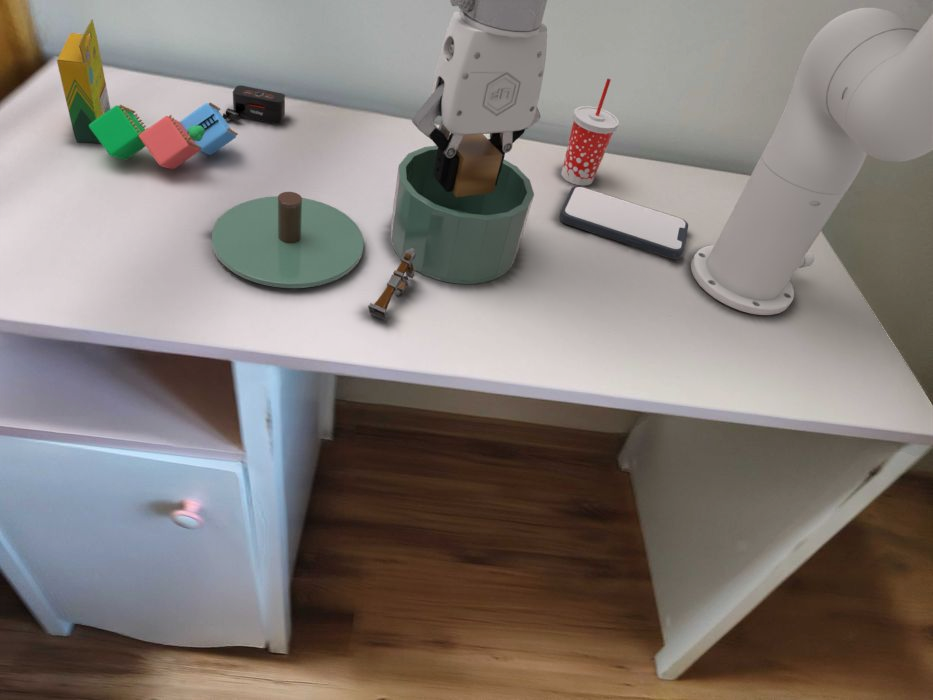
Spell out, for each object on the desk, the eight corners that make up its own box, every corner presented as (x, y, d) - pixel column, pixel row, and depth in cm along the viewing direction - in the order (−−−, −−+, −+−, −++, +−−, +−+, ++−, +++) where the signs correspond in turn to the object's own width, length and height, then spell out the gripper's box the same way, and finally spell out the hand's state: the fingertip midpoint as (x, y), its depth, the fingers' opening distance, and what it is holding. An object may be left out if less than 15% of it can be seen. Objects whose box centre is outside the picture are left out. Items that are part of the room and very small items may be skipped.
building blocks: (159, 192, 85) (239, 136, 84) (130, 186, 77) (218, 124, 76) (119, 136, 83) (200, 79, 83) (85, 124, 75) (174, 61, 75)
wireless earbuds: (232, 106, 93) (231, 83, 91) (285, 117, 94) (285, 94, 92) (222, 122, 90) (220, 98, 88) (277, 132, 91) (277, 109, 88)
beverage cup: (590, 193, 94) (625, 95, 85) (549, 177, 96) (579, 78, 86) (603, 176, 99) (637, 80, 89) (564, 160, 100) (593, 64, 90)
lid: (333, 198, 82) (335, 152, 78) (385, 278, 73) (391, 231, 69) (196, 214, 75) (191, 165, 71) (235, 305, 66) (232, 255, 62)
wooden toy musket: (423, 270, 74) (421, 247, 70) (388, 331, 71) (384, 311, 67) (408, 264, 74) (405, 241, 70) (372, 325, 71) (367, 304, 67)
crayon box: (86, 112, 86) (66, 14, 78) (112, 114, 86) (95, 18, 79) (73, 142, 81) (51, 41, 73) (101, 144, 81) (82, 44, 73)
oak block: (473, 170, 77) (481, 132, 74) (493, 192, 74) (502, 154, 71) (436, 174, 75) (443, 135, 72) (456, 197, 72) (464, 158, 69)
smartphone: (555, 224, 88) (678, 264, 86) (559, 213, 87) (683, 253, 84) (570, 193, 94) (685, 229, 92) (573, 182, 93) (689, 219, 91)
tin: (477, 201, 88) (491, 140, 82) (538, 272, 79) (558, 209, 73) (370, 216, 81) (377, 150, 75) (424, 294, 73) (436, 227, 67)
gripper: (438, 21, 56) (408, 211, 69) (600, 22, 64) (547, 193, 76) (400, -14, 60) (379, 171, 73) (556, -9, 68) (513, 157, 81)
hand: (465, 180), depth 74 cm, fingers closed on oak block, 4 cm apart
